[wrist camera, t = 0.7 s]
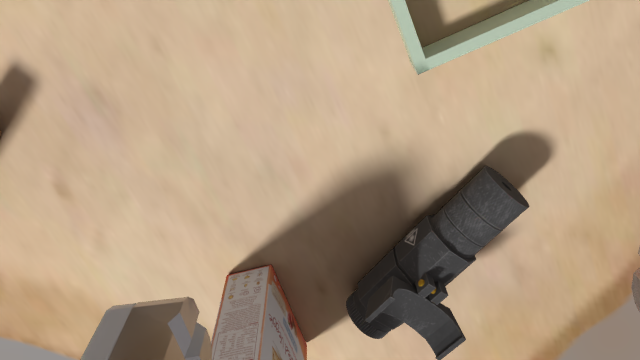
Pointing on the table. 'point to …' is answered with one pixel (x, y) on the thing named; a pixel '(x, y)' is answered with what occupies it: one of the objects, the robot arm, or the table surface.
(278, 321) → the cracker box
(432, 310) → the laser sight
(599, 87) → the table surface
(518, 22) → the open frame
